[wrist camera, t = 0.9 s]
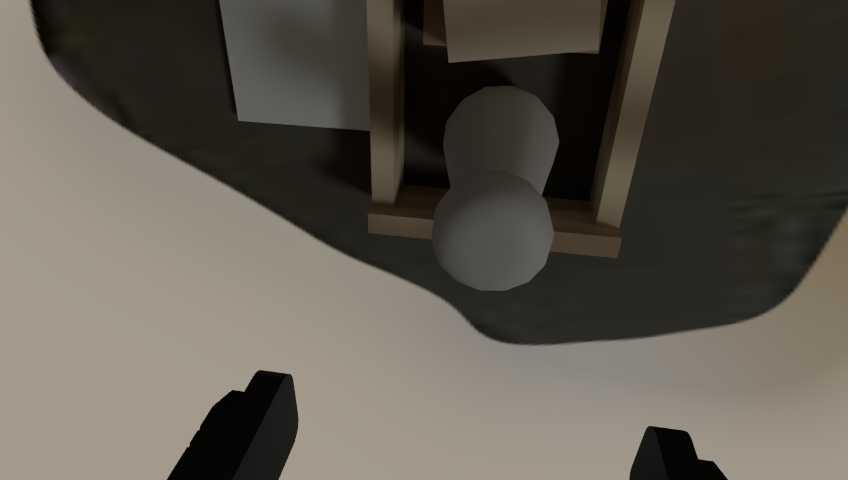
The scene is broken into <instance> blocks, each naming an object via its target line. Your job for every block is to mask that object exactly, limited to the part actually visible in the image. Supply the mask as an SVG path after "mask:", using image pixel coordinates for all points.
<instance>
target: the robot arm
mask: <svg viewBox="0 0 848 480" xmlns="http://www.w3.org/2000/svg"><path fill="white" fill-rule="evenodd" d="M297 429H298V411H297V404H296V397H295V390H294V383H293V378H292V376H291V375H290V374H284V373H277V372H270V371H263V370H259V371H257V372H256V373H255V375H254V376H253V378H252V379H251V381H250V383H249V385H248V386H247V388H246V390H245V392H242V391H235V390H232V391H231V392H229V393H228V394H227V395H226V396H225V397H223V398H222V399H221V400H220V401H219V402H217V403H216V404H215V405H214V406H213V407H212V409H211V410H210V412H209V413H208V415H207V416H206V418H205V420H204V421H203V423H202V424H201V426H200V430H199V431H197V432H196V434H195V436H194V437H193V439H192V440H191V442H190V446H189V447H187V448H186V450H185V452H184V453H183V455H182V456H181V458H180V460H179V461H178V463H177V464H176V466H175V467H174V469H173V471H172V472H171V474H170V476H169V477H168V479H167V480H278V479H279V477H280V475H281V472H282V470H283V468H284V466H285V463H286V461H287V458H288V456H289V454H290V451H291V449H292V447H293V444H294V442H295V438H296V434H297ZM629 480H728V479H727V478H726V477H725V476H724V474H723V473H722V472H721V471H720V469H719V468H718V467H717V465H716V464H715V463H714V462H713V461H706V460H700V459H698V457H697V455H696V451H695V448H694V445H693V442H692V439H691V437H690V435H689V434H688V432H686V431H682V430H675V429H668V428H660V427H653V426H649V427H648V428H647V429H646V431H645V433H644V436H643V439H642V441H641V444H640V447H639V449H638V452H637V455H636V457H635V460H634V463H633V465H632V468H631V472H630V479H629Z"/></svg>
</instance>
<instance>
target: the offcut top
mask: <svg viewBox="0 0 848 480" xmlns="http://www.w3.org/2000/svg"><path fill="white" fill-rule="evenodd" d="M443 3H444V15H445V26H446V38H447V50H448V61H449V63H453V62H465V61H476V60H488V59H500V58H511V57H523V56H534V55H546V54H558V53H569V52H581V51H593V50H599V30H600V9H601V0H443Z"/></svg>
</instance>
